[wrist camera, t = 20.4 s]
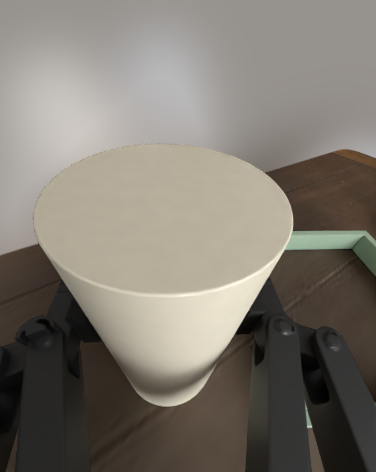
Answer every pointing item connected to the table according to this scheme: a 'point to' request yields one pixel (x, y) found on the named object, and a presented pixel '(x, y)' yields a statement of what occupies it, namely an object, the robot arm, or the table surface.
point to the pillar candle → (164, 255)
